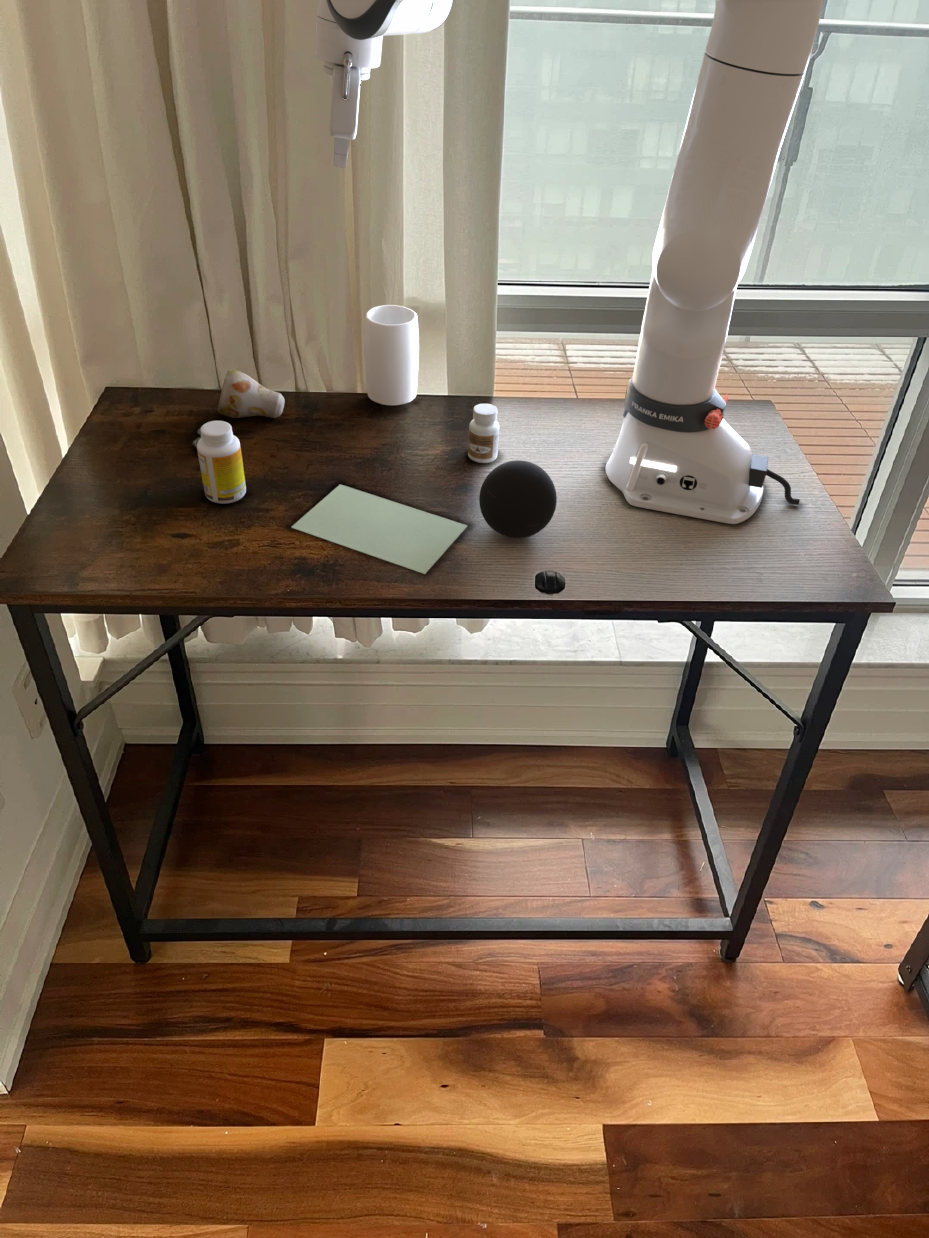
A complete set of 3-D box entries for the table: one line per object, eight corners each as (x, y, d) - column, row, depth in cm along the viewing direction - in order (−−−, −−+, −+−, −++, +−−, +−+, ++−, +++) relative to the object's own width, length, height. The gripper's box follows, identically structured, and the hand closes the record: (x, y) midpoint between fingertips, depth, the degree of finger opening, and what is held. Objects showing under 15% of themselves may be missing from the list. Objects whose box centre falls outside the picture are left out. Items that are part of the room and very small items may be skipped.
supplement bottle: (254, 489, 129) (246, 423, 122) (232, 509, 125) (222, 442, 118) (219, 479, 130) (210, 413, 124) (196, 499, 126) (185, 432, 120)
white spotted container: (288, 429, 142) (248, 381, 135) (237, 445, 146) (196, 400, 139) (297, 395, 146) (259, 347, 139) (247, 412, 150) (208, 366, 143)
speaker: (466, 542, 121) (470, 477, 115) (491, 503, 129) (495, 439, 122) (540, 561, 119) (548, 495, 113) (561, 519, 126) (569, 455, 120)
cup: (412, 416, 146) (413, 329, 137) (360, 410, 147) (357, 323, 138) (422, 391, 153) (424, 306, 143) (372, 385, 153) (370, 301, 144)
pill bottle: (463, 460, 137) (466, 413, 132) (473, 446, 140) (475, 399, 135) (492, 466, 136) (495, 419, 131) (500, 452, 139) (504, 405, 134)
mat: (467, 526, 125) (467, 525, 124) (424, 574, 116) (424, 573, 116) (340, 485, 131) (340, 484, 131) (290, 528, 123) (290, 527, 122)
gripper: (373, 65, 117) (362, 181, 126) (371, 37, 133) (362, 142, 141) (322, 56, 116) (315, 174, 125) (326, 29, 132) (320, 136, 140)
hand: (340, 157), depth 133 cm, fingers open, 8 cm apart
